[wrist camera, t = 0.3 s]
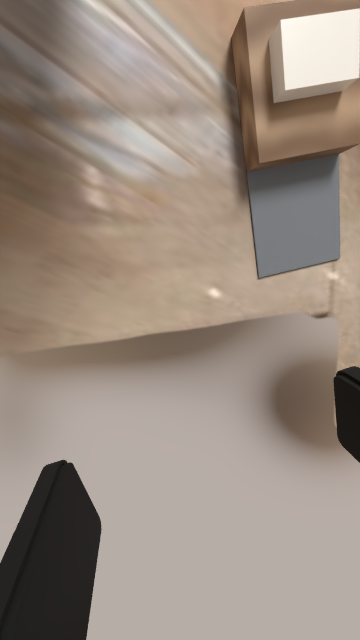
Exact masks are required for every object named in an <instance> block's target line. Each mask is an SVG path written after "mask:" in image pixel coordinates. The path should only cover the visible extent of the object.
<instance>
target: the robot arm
mask: <svg viewBox="0 0 360 640" xmlns="http://www.w3.org/2000/svg"><path fill="white" fill-rule="evenodd" d="M334 393H335V408H336V422H337V435H338V439H339V441H340V443H341V444H342V446H343V447H344V448H345V449H346V450H347V451H348V452H349V453H350V454H352V456H353V457H354V458H355V459H356V460H357V461H358V462H360V368H359V367H356V366H353V367H350V368H346V369H343V370H340V371H338V372H337V374H336V377H334ZM100 535H101V521H100V517H99V515H98V513H97V511H96V509H95V507H94V505H93V503H92V501H91V499H90V497H89V495H88V493H87V491H86V489H85V487H84V485H83V483H82V481H81V479H80V477H79V475H78V473H77V471H76V469H75V468H74V465H73V464H72V463H67V461H66V460H61V461H58V462H54V463H51V464H48V465H46V466H45V467H44V468H43V470H42V471H41V474H40V476H39V478H38V481H37V483H36V485H35V487H34V489H33V492H32V494H31V496H30V498H29V501H28V503H27V505H26V507H25V510H24V512H23V514H22V517H21V519H20V521H19V523H18V525H17V528H16V530H15V532H14V534H13V536H12V538H11V541H10V543H9V545H8V547H7V549H6V552H5V554H4V556H3V559H2V561H1V563H0V640H86V636H87V629H88V622H89V614H90V608H91V600H92V593H93V586H94V578H95V572H96V565H97V564H96V563H97V557H98V550H99V543H100Z"/></svg>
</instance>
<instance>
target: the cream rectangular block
mask: <svg viewBox="0 0 360 640" xmlns="http://www.w3.org/2000/svg"><path fill="white" fill-rule="evenodd" d="M269 50H270V63H271V76H272V89H273V101H274V103H277V102H283V101H289V100H294V99H300V98H306V97H312V96H317V95H323V94H329V93H335V92H340V91H343V90H344V89H346V88H347V87H348V86H349V85H351V84H352V83H353V82H355V81H356V80H357V79H358V78H359V68H360V8H359V9H352V10H345V11H338V12H331V13H324V14H317V15H310V16H303V17H296V18H289V19H283V20H280V22H279V23H278V25H277V27H276V28H275V30H274V31H273V33H272V35H271V36H270V38H269Z"/></svg>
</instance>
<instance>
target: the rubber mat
mask: <svg viewBox="0 0 360 640" xmlns="http://www.w3.org/2000/svg"><path fill="white" fill-rule="evenodd" d="M247 181H248V190H249V199H250V208H251V217H252V225H253V234H254V243H255V252H256V261H257V270H258V278H260V277H264V276H268V275H273V274H277V273H281V272H285V271H289V270H294V269H298V268H302V267H306V266H310V265H314V264H319V263H323V262H327V261H331V260H335V259H340V209H339V154H336V155H331V156H326V157H321V158H316V159H311V160H306V161H301V162H296V163H291V164H286V165H281V166H276V167H271V168H266V169H261V170H256V171H251V172H247Z"/></svg>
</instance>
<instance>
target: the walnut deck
mask: <svg viewBox="0 0 360 640" xmlns="http://www.w3.org/2000/svg"><path fill="white" fill-rule="evenodd" d="M359 8H360V0H295V1H288V2H280V3H273V4H266V5H258V6H251V7H244V9H243V11H242V14H241V16H240V18H239V21H238V23H237V25H236V28H235V30H234V32H233V35H232V37H231V40H232V49H233V58H234V66H235V75H236V84H237V93H238V102H239V111H240V119H241V128H242V137H243V146H244V155H245V164H246V172H251V171H256V170H261V169H266V168H271V167H276V166H281V165H286V164H291V163H296V162H301V161H306V160H311V159H316V158H321V157H326V156H331V155H336V154H340V153H342V152H344V151H346V150H348V149H350V148H352V147H354V146H356V145H358V144H360V68H359V78H358V79H357V80H356V81H355V82H353V83H352V84H351V85H349V86H348V87H347V88H346V89H344V90H343V91H340V92H335V93H329V94H323V95H317V96H312V97H306V98H300V99H294V100H289V101H283V102H277V103H274V101H273V89H272V76H271V63H270V50H269V38H270V36H271V35H272V33H273V31H274V30H275V28H276V27H277V25H278V23H279V22H280V20H283V19H289V18H296V17H303V16H310V15H317V14H324V13H331V12H338V11H345V10H352V9H359Z"/></svg>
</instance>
